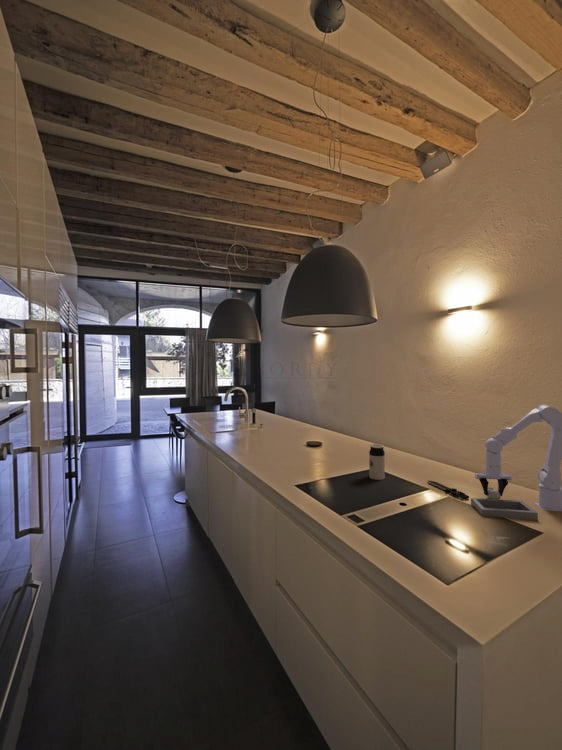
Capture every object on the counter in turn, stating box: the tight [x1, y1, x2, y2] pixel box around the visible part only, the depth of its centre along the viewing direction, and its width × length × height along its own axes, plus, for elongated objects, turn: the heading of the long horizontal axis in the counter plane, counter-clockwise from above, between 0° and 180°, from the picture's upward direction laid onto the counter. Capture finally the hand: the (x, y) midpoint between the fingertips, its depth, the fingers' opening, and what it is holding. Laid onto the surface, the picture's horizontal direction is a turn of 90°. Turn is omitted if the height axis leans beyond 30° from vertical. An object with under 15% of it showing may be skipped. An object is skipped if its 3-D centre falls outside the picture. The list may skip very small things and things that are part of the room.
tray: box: [470, 497, 539, 521], centre depth 139 cm, size 20×12×3 cm, turn 79°
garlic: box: [485, 487, 502, 500], centre depth 153 cm, size 6×5×5 cm
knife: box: [427, 480, 470, 500], centre depth 164 cm, size 25×6×1 cm, turn 10°
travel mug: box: [368, 443, 386, 481], centre depth 182 cm, size 8×8×18 cm
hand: (493, 494), depth 153 cm, fingers closed on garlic, 5 cm apart
